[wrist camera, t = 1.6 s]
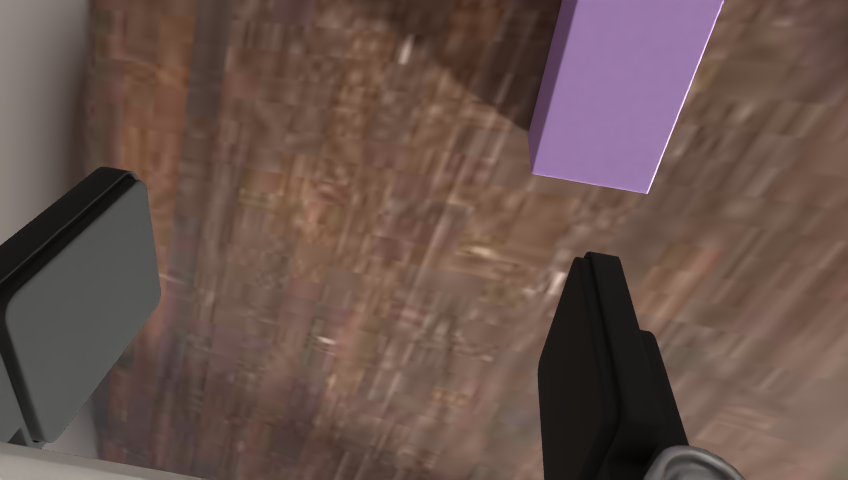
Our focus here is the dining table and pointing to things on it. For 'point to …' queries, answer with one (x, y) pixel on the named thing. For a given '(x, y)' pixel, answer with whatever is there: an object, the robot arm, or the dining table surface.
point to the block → (616, 88)
